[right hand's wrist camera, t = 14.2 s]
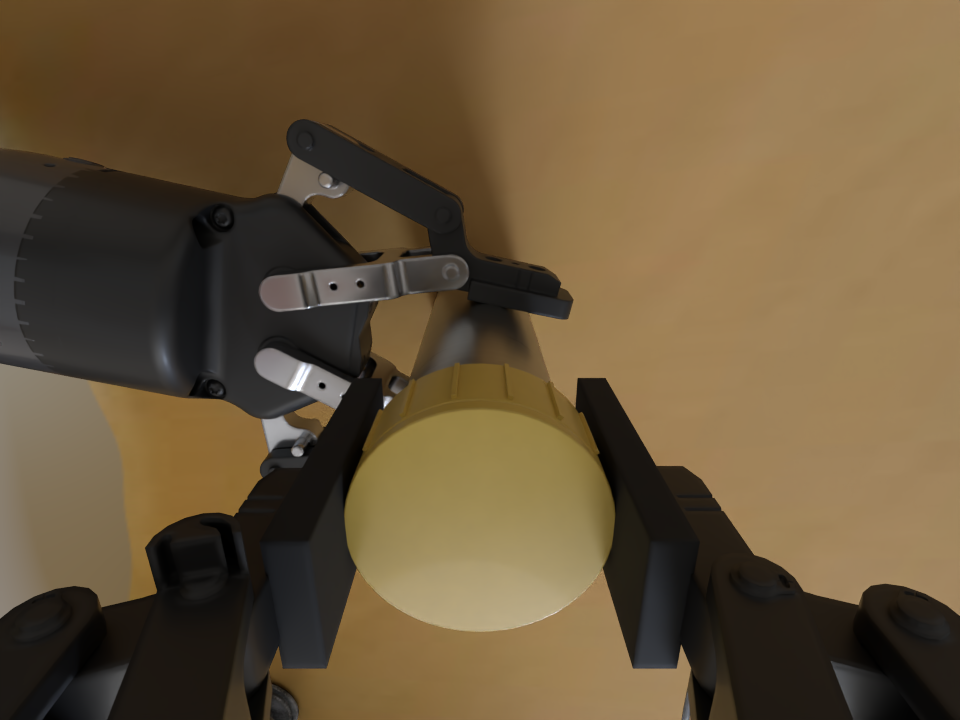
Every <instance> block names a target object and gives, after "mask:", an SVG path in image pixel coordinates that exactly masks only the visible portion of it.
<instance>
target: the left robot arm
mask: <svg viewBox="0 0 960 720" xmlns="http://www.w3.org/2000/svg"><path fill="white" fill-rule="evenodd" d="M286 139H287V145H288V147H289V149H290V151H291V152H292V154H291V157H290V159H289V162H288V165H287V167H286V170H285V173H284V175H283V178H282V181H281V183H280V186H279V189H278V191H277V193H274V194H266V195H262V196H260V197H257V198H241V197H236V196H232V195H227V194H223V193H218V192H213V191H209V190H204V189H200V188H195V187H191V186H186V185H181V184H177V183H172V182H168V181H163V180H158V179H154V178H149V177H145V176H140V175H135V174H131V173H126V172H122V171H117V170H113V169H108V168H104V166H102V165H99V164H97V163H93V162H90V161H86V160H82V159H78V158H72V157H69V158H63V159H62V158H58V157H53V156H49V155H44V154H38V153H33V152H27V151H20V150H11V149H2V148H0V363H1V364H6V365H12V366H17V367H22V368H28V369H33V370H38V371H43V372H48V373H54V374H59V375H64V376H69V377H75V378H80V379H85V380H91V381H96V382H101V383H107V384H112V385H118V386H123V387H128V388H133V389H139V390H144V391H149V392H154V393H160V394H165V395H170V396H176V397H181V398H202V399H221V400H225V401H227V402H230V403H232V404H234V405H236V406H237V407H239V408H241V409H242V410H243V411H245V412H246V413H248V414H249V415H251V416H253V417H256V418H260V419H261V421H262V426H263V430H264V434H265V438H266V442H267V446H268V451H269V454H268V456H267V457H266V459H265V460H264V461H263V463H262V464H261V466H260V473H261V476H262V477H265V476H266V475H268V474H269V473H270V472H272V471H273V470H275V469H276V468H302V467H303V465H304V464H305V462H306V460H307V458H308V457H309V455H310V453H311V452H312V450H313V448H314V446H315V445H316V443H317V441H318V440H319V438H320V436H321V434H322V433H323V431H324V429H325V427H323V426H322V425H321V423H320V421H319V420H318V419H306V418H302V417H300V416H298V415H297V414H296V413H295V412H294V411H296V410H298V409H301V408H303V407H305V406H308V405H310V404H313V403H315V402H317V401H320V402H322V403H324V404H326V405H328V406H330V407H332V408H334V409H336V408H337V407H338V405H339V403H340V402H341V400H342V398H343V396H344V395H345V393H346V391H347V389H348V388H349V386H350V384H351V383H352V381H353V379H354V378H382V388H383V402H384V408H385V407H386V405H387V404H388V403H389V402H390V401H391V400H392V399H393V398H394V397H395V396H396V395H397V394H398V393H399V392H400V391H402V390H403V389H404V388H405V387H407V386H408V383H409V380H410V377H408V376H406V375H405V374H403V373H401V372H399V371H398V370H397V369H396V367H395V366H394V364H392V363H391V362H390V361H388V360H386V359H384V358H382V357H380V356H378V355H376V354H375V353H373V352H371V346H372V335H371V327H370V320H371V317H372V315H373V313H374V311H375V309H376V306H377V304H378V301H379V300H389V299H394V298H398V297H401V296H403V295H407V294H416V293H427V292H437V291H447V290H455V289H456V290H461V291H466V292H468V297H467V300H471V301H475V302H480V303H485V304H491V305H496V306H499V307H504V308H509V309H514V310H518V311H523V312H528V313H533V314H537V315H542V316H547V317H552V318H557V319H568V317H569V314H570V310H571V307H572V303H573V298H572V297H571V295H570V294H569V292H568V291H567V290H565V289H562V288H560V285H561V282H560V281H559V279H558V278H557V276H556V275H555V274H554V273H552V272H551V271H549V270H548V269H547V268H545V267H543V266H538V265H533V264H528V263H524V262H518V261H515V260H510V259H506V258H501V257H496V256H492V255H487V254H483V253H480V252H478V251H476V250H474V249H473V248H472V247H471V245H470V244H469V242H468V240H467V236H466V230H465V223H464V216H463V212H464V207H463V203H462V201H461V199H460V198H459V197H458V196H457V195H456V194H454V193H452V192H450V191H448V190H447V189H445V188H443V187H441V186H439V185H438V184H436V183H434V182H432V181H430V180H429V179H427V178H425V177H423V176H421V175H420V174H418V173H416V172H414V171H412V170H411V169H409V168H407V167H405V166H403V165H402V164H400V163H398V162H396V161H394V160H393V159H391V158H389V157H387V156H385V155H384V154H382V153H380V152H378V151H376V150H375V149H373V148H371V147H369V146H367V145H366V144H364V143H362V142H360V141H358V140H357V139H355V138H353V137H351V136H349V135H348V134H346V133H344V132H342V131H340V130H339V129H337V128H335V127H333V126H331V125H327V124H324V123H320V122H316V121H310V120H305V119H302V120H297V121H295V122H294V123H293V124H292V125H291V126H290V127H289V129H288V131H287V138H286ZM353 189H356V190H358V191H360V192H361V193H363V194H365V195H367V196H369V197H371V198H373V199H374V200H376V201H378V202H380V203H382V204H384V205H386V206H387V207H389V208H391V209H393V210H395V211H397V212H399V213H400V214H402V215H404V216H406V217H408V218H410V219H412V220H413V221H415V222H417V223H419V224H421V225H423V226H425V227H427V229H428V234H429V240H430V246H429V247H419V248H391V249H381V250H371V251H361V252H357V251H356V250H355V249H354V248H353V247H352V246H351V245H350V244H349V243H348V242H347V240H346V239H345V238H344V237H343V236H342V235H341V234H340V233H339V232H338V231H337V230H336V229H335V228H334V227H333V226H332V225H331V224H330V223H329V222H328V221H327V220H326V219H325V218H324V217H323V216H322V215H321V214H320V213H319V212H318V211H317V210H316V209H315V208H314V207H313V206H312V205H311V202H312V200H313V199H314V198H315V197H316V196H318V195H322V196H325V197H328V198H339V197H343V196H346V195H348V194H350V193H351V192H352V191H353Z"/></svg>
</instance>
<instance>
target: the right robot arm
mask: <svg viewBox="0 0 960 720" xmlns="http://www.w3.org/2000/svg"><path fill="white" fill-rule="evenodd" d="M379 409H381V410H384V402H383V388H382V378H354V379H353V381H352V383H351V384H350V386H349V388H348V389H347V391H346V393H345V395H344V396H343V398H342V400H341V402H340V403H339V405H338V407H337V408H336V410H335V412H334V414H333V415H332V417H331V419H330V421H329V422H328V424H327V426H326V427H325V429H324V431H323V433H322V434H321V436H320V438H319V440H318V441H317V443H316V445H315V446H314V448H313V450H312V452H311V453H310V455H309V457H308V458H307V460H306V462H305V464H304V465H303V467H302V468H276V469H275V470H273V471H272V472H270V473H269V474H268V475H266V476H265V477H263V478H262V479H261V480H259V481H258V482H257V484H256V485H255V487H254V488H253V490H252V491H251V492H250V494H249V495H248V499H247V500H245V501H244V503H243V504H242V505H241V507H240V508H239V512H238V513H236V514H235V516H234V517H233V516H231V515H227V514H223V513H203V514H199V515H195V516H191V517H187V518H184V519H182V520H180V521H178V522H175V523H173V524H171V525H169V526H167V527H166V528H164V529H163V530H162V531H160V532H159V533H158V534H156V535H155V536H154V537H153V538H152V539H151V541H150V542H149V543H148V545H147V546H146V547H145V550H146V553H147V557H148V560H149V564H150V567H151V571H152V574H153V578H154V581H155V585H156V588H157V593H156V594H154V595H150V596H147V597H144V598H140V599H135V600H131V601H127V602H123V603H119V604H114V605H110V606H106V607H101V605H100V602H99V599H98V596H97V594H95V593H94V592H93V591H92V590H91V589H89V588H84V587H77V586H72V587H65V588H59V589H54V590H52V591H49V592H46V593H43V594H40V595H37V596H35V597H33V598H31V599H29V600H27V601H25V602H24V603H22V604H20V605H18V606H16V607H15V608H13V609H12V610H11V611H9V612H8V613H7V614H6V615H4V616H3V617H2V618H1V619H0V720H270V710H271V700H272V684H271V678H270V673H269V668H270V665H271V663H272V660H273V658H274V656H275V653H276V651H277V648H278V646H279V650H280V656H281V661H282V666H283V668H327V665H328V661H329V658H330V655H331V651H332V648H333V645H334V642H335V638H336V635H337V632H338V628H339V625H340V622H341V618H342V615H343V612H344V608H345V605H346V602H347V598H348V595H349V592H350V589H351V585H352V582H353V579H354V575H355V572H356V569H357V567H356V565H355V563H354V561H353V559H352V557H351V555H350V552H349V549H348V545H347V537H346V529H345V519H344V507H345V500H346V496H347V493H348V489H349V486H350V483H351V481H352V478H353V476H354V474H355V471H356V468H357V466H358V463H359V461H360V458H361V456H362V453H363V450H362V449H363V446H364V444H365V441H366V439H367V437H368V434H369V432H370V429H371V427H372V424H373V422H374V420H375V417H376V415H377V412H378V411H379ZM576 410H577V412H578V413H581V412H582V413H583V414H584V416H585V419H586V421H587V424H588V426H589V429H590V431H591V433H592V436H593V438H594V441H595V443H596V446H597V448H598V450H599V454H597V455H598V457H599V460H600V462H601V465H602V467H603V470H604V472H605V475H606V477H607V480H608V482H609V485H610V487H611V491H612V495H613V498H614V502H615V523H614V533H613V541H612V548H611V550H610V553H609V556H608V558H607V561H606V563H605V564H604V566H603V570H604V574H605V577H606V580H607V584H608V587H609V590H610V594H611V597H612V600H613V604H614V607H615V610H616V613H617V617H618V620H619V623H620V627H621V630H622V633H623V637H624V640H625V643H626V647H627V650H628V653H629V657H630V660H631V663H632V666H633V668H677V663H678V658H679V653H680V647H681V645H682V647H683V650H684V652H685V654H686V657H687V659H688V662H689V664H690V666H691V673H690V678H689V683H688V688H687V693H686V698H685V703H684V708H683V714H682V720H689V718H690V719H691V720H960V616H959V615H958V614H957V613H955V612H954V611H953V610H951V609H950V608H949V607H948V606H946V605H945V604H943V603H941V602H939V601H937V600H935V599H934V598H932V597H930V596H928V595H926V594H924V593H921V592H918V591H915V590H912V589H910V588H907V587H904V586H897V585H890V584H880V585H873V586H870V587H869V588H868V589H867V590H865V591H864V592H863V594H862V597H861V600H860V603H859V605H855V604H851V603H847V602H842V601H838V600H834V599H829V598H825V597H821V596H817V595H813V594H810V593H807V592H804V591H803V590H802V588H801V587H800V585H799V584H798V582H797V581H796V579H795V578H794V577H793V576H792V575H790V574H789V573H788V572H787V571H786V570H785V569H783V568H782V567H781V566H779V565H777V564H775V563H773V562H771V561H769V560H767V559H765V558H762V557H758V556H755V555H754V554H753V553H752V551H751V550H750V549H749V547H748V546H747V544H746V543H745V541H744V540H743V539H742V537H741V536H740V534H739V533H738V531H737V530H736V528H735V527H734V526H733V524H732V523H731V521H730V520H729V518H728V517H727V516H726V514H725V513H724V511H721V507H720V505H719V504H718V503H717V501H716V500H715V498H712V494H711V493H710V491H709V490H708V488H707V487H706V485H705V484H704V483H703V481H702V480H701V479H700V478H699V477H697V476H696V475H694V474H693V473H692V472H690V471H689V470H687V469H686V468H685V467H683V466H656V465H655V463H654V461H653V459H652V458H651V456H650V454H649V453H648V451H647V449H646V447H645V446H644V444H643V442H642V440H641V439H640V437H639V435H638V434H637V432H636V430H635V428H634V427H633V425H632V423H631V421H630V420H629V418H628V416H627V415H626V413H625V411H624V409H623V408H622V406H621V404H620V402H619V401H618V399H617V397H616V396H615V394H614V392H613V390H612V389H611V387H610V385H609V383H608V382H607V380H606V378H578V381H577V395H576Z"/></svg>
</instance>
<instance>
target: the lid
mask: <svg viewBox="0 0 960 720" xmlns="http://www.w3.org/2000/svg"><path fill="white" fill-rule="evenodd" d="M362 450H363V453H362V456H361V458H360V461H359V463H358V466H357V468H356V471H355V474H354V476H353V478H352V481H351V483H350V486H349V489H348V493H347V496H346V500H345V507H344V519H345V529H346V537H347V545H348V549H349V552H350V555H351V557H352V559H353V561H354V563H355V565H356V567H357V569H358V571H359V572H360V574H361V575H362V576H363V578H364V579H365V581H366V582H367V583H368V584H369V585H370V586H371V588H372V589H373V590H374V591H375V592H376V593H377V594H378V595H379V596H381V597H382V598H383V599H384V600H385V601H387V602H388V603H389V604H391V605H392V606H394V607H395V608H397V609H398V610H400V611H401V612H403V613H405V614H407V615H409V616H411V617H413V618H415V619H417V620H420V621H423V622H425V623H428V624H431V625H435V626H438V627H442V628H446V629H452V630H458V631H469V632H492V631H501V630H508V629H513V628H517V627H521V626H526V625H528V624H531V623H534V622H537V621H540V620H542V619H544V618H546V617H548V616H551V615H553V614H555V613H556V612H558V611H560V610H561V609H563V608H564V607H566V606H568V605H569V604H570V603H572V602H573V601H574V600H575V599H577V598H578V597H579V596H580V595H581V594H582V593H583V592H584V591H585V590H586V589H587V588H588V587H589V586H590V585H591V584H592V583H593V581H594V580H595V579H596V577H597V576H598V575H599V573H600V572H601V570H602V568H603V566H604V564H605V563H606V561H607V558H608V556H609V553H610V550H611V548H612V541H613V533H614V523H615V502H614V498H613V495H612V491H611V487H610V485H609V482H608V480H607V477H606V475H605V472H604V470H603V467H602V465H601V462H600V460H599V457H598V455H597V454H599V450H598V448H597V446H596V443H595V441H594V438H593V436H592V433H591V431H590V429H589V426H588V424H587V421H586V419H585V416H584V414H583V413H582V412H581V413H578V412H577V410H576V408H575V407H574V406H573V405H572V404H571V403H570V401H569V400H568V399H567V398H566V397H565V396H564V395H563V394H561V393H560V392H559V391H558V390H557V389H556V388H554V385H553V383H552V382H551V381H549V382H548V383H547V382H545V381H544V380H542V379H540V378H538V377H536V376H534V375H532V374H530V373H528V372H525V371H522V370H519V369H516V368H512V367H509V364H505V363H504V366H502V365H496V364H483V363H479V364H464V365H460V363H455V364H454V366H452V367H448V368H444V369H441V370H438V371H434V372H432V373H430V374H428V375H426V376H423V377H421V378H419V379H418V380H416V381H415V380H414V379H412V380H410V382H409V385H408V386H407V387H405V388H404V389H403V390H402V391H400V392H399V393H398V394H397V395H396V396H395V397H394V398H393V399H392V400H391V401H390V402H389V403H388V404H387V405H386V407H385V408H384V410H381V409H379V411H378V412H377V415H376V417H375V420H374V422H373V424H372V427H371V429H370V432H369V434H368V437H367V439H366V441H365V444H364V446H363V449H362Z"/></svg>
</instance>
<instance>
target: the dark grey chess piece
mask: <svg viewBox="0 0 960 720" xmlns="http://www.w3.org/2000/svg"><path fill="white" fill-rule="evenodd" d="M298 712H299V710H298V706H297V703H296V702H295V700H294V699H293V697H292V696H291V695H290V694H289V693H288V692H286V691H285V690H284V689H282V688H280V687H278V686H276V685H273V684H272V700H271V710H270V720H297V719H298Z"/></svg>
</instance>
